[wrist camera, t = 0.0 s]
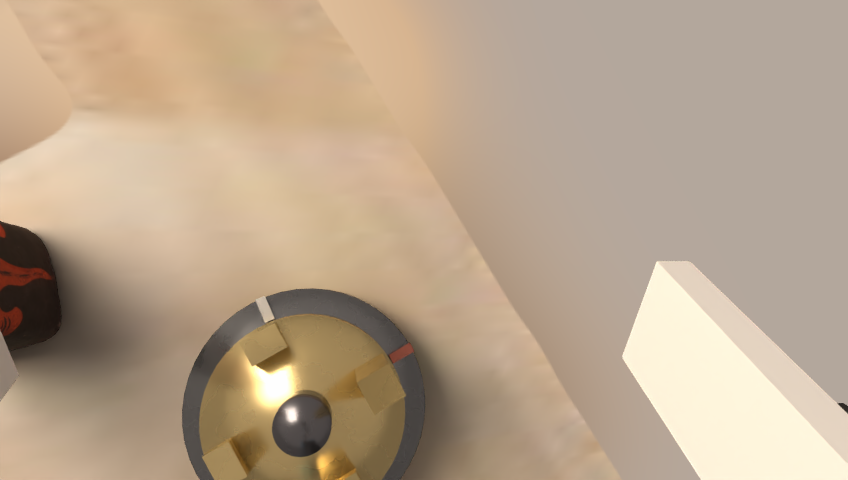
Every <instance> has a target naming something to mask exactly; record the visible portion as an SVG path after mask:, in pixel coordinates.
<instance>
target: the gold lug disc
mask: <svg viewBox="0 0 848 480" xmlns="http://www.w3.org/2000/svg"><path fill="white" fill-rule="evenodd" d="M301 390H312V391H315V392H318V393H320V394H321V395H323V396H324V397H325V398H326V400H327V401H328V402H329V404H330V406H331V410H332V426H331V433H330V436H329V439H328V441H327V442H326V444H325V445H324V446H323V447H322V448H321V449H320V450H319V451H318V452H316V453H314V454H312V455H310V456H306V457H294V456H290V455H288V454H286V453H284V452H283V451H282V450H281V449H280V448H279V447H278V446H277V444H276V443H275V441H274V438H273V434H272V423H273V419H274V417H275V415H276V413H277V411H278V409H279V407H280V406H281V404H282V402H283V401H284V400H285V399H286V398H287V397H288V396H289V395H291V394H292V393H294V392H297V391H301ZM405 396H406V394H405V392H404V390H403V388H402V386H401V383H400V379H399V376H398V374H397V372H396V370H395V368H394V365H393V364H392V362H391V360H390V359H389V357H388V356H387V354H386V353H385V351H384V350H383V349H382V347H381V346H380V345H379V344H378V343H377V342H376V341H375V340H374V339H373V338H372V337H371V336H370V335H369V334H368V333H366V332H365V331H364V330H362V329H361V328H359V327H358V326H356V325H354V324H352V323H350V322H348V321H346V320H343V319H340V318H337V317H334V316H329V315H324V314H312V313H310V314H297V315H291V316H286V317H283V318H280V319H277V320H274V321H271V322H269V323H267V324H265V325H263V326H260V327H258V328H256V329H255V330H253V331H252V332H250V333H248V334H247V335H245V336H244V337H243V338H242V339H240V340H239V341H238V342H237V343H236V344H234V345H233V346H232V348H231V349H230V350H229V351H228V352H227V353H226V354H225V355H224V356H223V358H222V359H221V360H220V362H219V363H218V364H217V366H216V368H215V369H214V371H213V373H212V375H211V377H210V379H209V381H208V383H207V386H206V388H205V391H204V395H203V399H202V402H201V408H200V416H199V434H200V440H201V447H202V450H203V454H204V455H203V456H202V458H203V460H204V462H205V464H206V466H207V467H208V469H209V471H210V473H211V475H212V477H213V479H214V480H382V479H383V477H384V476H385V474H386V473H387V471H388V470H389V468H390V467H391V465H392V463H393V461H394V459H395V457H396V455H397V452H398V449H399V446H400V443H401V440H402V436H403V431H404V423H405V401H404V397H405Z"/></svg>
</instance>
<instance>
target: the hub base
mask: <svg viewBox="0 0 848 480" xmlns="http://www.w3.org/2000/svg"><path fill="white" fill-rule="evenodd" d="M255 301H256V302H254V303H251V304H250V305H248V306H246V307H245V308H243V309H242V310H240V311H238V312H237V313H236V314H234V315H233V316H232V317H231V318H229V319H228V320H227V321H226V322H224V324H223V325H222V326H221V327H220V328H219V329H218V330H217V331H216V332H215V333H214V334H213V335H212V336H211V338H210V339H209V340H208V342H207V343H206V344H205V346H204V347H203V349H202V351H201V352H200V354H199V356H198V358H197V359H196V361H195V363H194V366H193V368H192V371H191V373H190V375H189V378H188V382H187V386H186V389H185V393H184V401H183V409H182V427H183V434H184V441H185V445H186V449H187V452H188V455H189V459H190V461H191V463H192V465H193V468H194V470H195V472H196V474H197V476H198V477H199V479H200V480H214V479H213V477H212V475H211V473H210V471H209V469H208V467H207V466H206V464H205V462H204V460H203V458H202V456H203V455H204V454H203V450H202V447H201V440H200V434H199V416H200V408H201V402H202V399H203V395H204V391H205V388H206V386H207V383H208V381H209V379H210V377H211V375H212V373H213V371H214V369H215V368H216V366H217V364H218V363H219V362H220V360H221V359H222V358H223V356H224V355H225V354H226V353H227V352H228V351H229V350H230V349H231V348H232V346H233V345H234V344H236V343H237V342H238V341H239V340H240V339H242V338H243V337H244V336H245V335H247V334H248V333H250V332H252V331H253V330H255V329H256V328H258V327H260V326H263V325H265V324H267V323H269V322H271V321H274V320H277V319H280V318H283V317H286V316H291V315H297V314H310V313H312V314H324V315H329V316H334V317H337V318H340V319H343V320H346V321H348V322H350V323H352V324H354V325H356V326H358V327H359V328H361V329H362V330H364V331H365V332H366V333H368V334H369V335H370V336H371V337H372V338H373V339H374V340H375V341H376V342H377V343H378V344H379V345H380V346H381V347H382V349H383V350H384V351H385V353H386V354H387V356H388V357H389V359H390V360H391V362H392V364H393V365H394V368H395V370H396V372H397V374H398V376H399V379H400V383H401V386H402V388H403V390H404V392H405V394H406V396H405V397H404V401H405V423H404V431H403V436H402V440H401V443H400V446H399V449H398V452H397V455H396V457H395V459H394V461H393V463H392V465H391V467H390V468H389V470H388V471H387V473H386V474H385V476H384V477H383V479H382V480H400V479H401V477H402V476H403V474H404V472H405V471H406V469H407V468H408V466H409V464H410V462H411V460H412V458H413V456H414V454H415V452H416V449H417V446H418V443H419V440H420V437H421V433H422V428H423V423H424V413H425V394H424V386H423V380H422V375H421V372H420V368H419V365H418V362H417V360H416V357H415V355H414V353H413V352H414V349H413V348H412V346H411V344H410V343H408V342H407V341H406V339H405V337H404V336H403V334H402V333H401V332H400V331H399V330H398V329H397V327H396V326H395V325H394V324H393V323H392V322H391V321H390V320H389V319H388V318H387V317H386V316H385V315H383V314H382V313H381V312H379V311H378V310H377V309H375V308H374V307H372V306H371V305H369V304H367V303H365V302H363V301H361V300H359V299H357V298H355V297H353V296H350V295H347V294H344V293H341V292H336V291H331V290H323V289H296V290H290V291H285V292H280V293H277V294H273V295H270V296H267V297H265V296H263V297H261V298H258V299H256V300H255ZM331 426H332V410H331V406H330V404H329V402H328V401H327V400H326V398H325V397H324V396H323V395H321V394H320V393H318V392H315V391H312V390H301V391H297V392H294V393H292V394H291V395H289V396H288V397H287V398H286V399H285V400H284V401H283V402H282V404H281V406H280V407H279V409H278V411H277V413H276V415H275V417H274V419H273V423H272V434H273V438H274V441H275V443H276V444H277V446H278V447H279V448H280V449H281V450H282V451H283V452H284V453H286V454H288V455H290V456H294V457H306V456H310V455H312V454H314V453H316V452H318V451H319V450H320V449H321V448H322V447H323V446H324V445H325V444H326V442H327V441H328V439H329V436H330V433H331Z"/></svg>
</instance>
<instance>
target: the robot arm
mask: <svg viewBox="0 0 848 480" xmlns="http://www.w3.org/2000/svg"><path fill="white" fill-rule="evenodd" d="M622 358H623V360H624V361H625V363H626V364H627V366H628V368H629V369H630V371H631V372H632V374H633V375H634V377H635V378H636V380H637V381H638V383H639V385H640V386H641V388H642V389H643V391H644V392H645V394H646V395H647V397H648V399H649V400H650V402H651V403H652V405H653V406H654V408H655V409H656V411H657V412H658V414H659V415H660V417H661V418H662V420H663V422H664V423H665V425H666V426H667V428H668V429H669V431H670V433H671V434H672V436H673V437H674V439H675V440H676V442H677V443H678V445H679V446H680V448H681V449H682V451H683V453H684V454H685V456H686V457H687V459H688V460H689V462H690V463H691V465H692V467H693V468H694V470H695V471H696V473H697V474H698V476H699V477H700V479H701V480H848V406H847V405H845V404H844V403H836V402H835V401H834V400H833V399H832V398H831V397H830V396H829V395H828V394H826V392H825V391H824V390H823V389H821V388H820V387H819V386H818V385H817V384H816V383H815V382H814V381H813V380H812V379H811V378H810V377H809V376H808V375H807V374H806V373H805V372H804V371H803V370H802V369H801V368H800V367H799V366H797V364H795V362H793V361H792V360H791V359H790V358H789V357H788V356H787V355H786V354H785V353H784V352H783V351H782V350H781V349H780V348H779V347H778V346H777V345H776V344H775V343H774V342H773V341H772V340H771V339H770V338H769V337H768V336H767V335H765V334H764V333H763V332H762V331H761V330H760V329H759V328H758V327H757V326H756V325H755V324H754V323H753V322H752V321H751V320H750V319H749V318H748V317H747V316H746V315H745V314H744V313H743V312H742V311H741V310H739V308H737V307H736V306H735V305H734V304H733V303H732V302H731V301H730V300H729V299H728V298H727V297H726V296H725V295H724V294H723V293H722V292H721V291H720V290H719V289H718V288H717V287H716V286H715V285H713V283H712V282H710V281H709V280H708V279H707V278H706V277H705V276H704V275H703V274H702V273H701V272H700V271H699V270H698V269H697V268H696V267H695V266H694V265H693V264H692V263H691V262H689V261H657V263H656V266H655V268H654V271H653V274H652V277H651V279H650V282H649V285H648V288H647V290H646V293H645V296H644V298H643V301H642V304H641V307H640V309H639V312H638V315H637V318H636V320H635V323H634V326H633V328H632V331H631V334H630V337H629V339H628V342H627V345H626V348H625V350H624V353H623V356H622ZM18 376H19V374H18V371H17V369H16V367H15V364H14V362H13V359H12V357H11V355H10V352H9V350H8V347H7V345H6V343H5V340H4V338H3V335H2V333H1V331H0V401H1V400H2V398H3V397H4V396H5V394H6V393H7V392H8V390H9V389H10V387H11V386H12V385H13V383H14V382H15V381H16V379H17V378H18Z"/></svg>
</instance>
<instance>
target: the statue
mask: <svg viewBox="0 0 848 480" xmlns="http://www.w3.org/2000/svg"><path fill="white" fill-rule="evenodd" d="M60 323H61V311H60V300H59V296H58V289H57V286H56V278H55V274H54V271H53V268H52V265H51V262H50V258H49V255H48V252H47V250H46V248H45V246H44V244H43V243H42V241H41V240H40V239H39V238H38V236H37V235H35V234H34V233H32V232H31V231H29V230H28V229H26V228H22V227H19V226H16V225H11V224H8V223H4V222H1V221H0V331H1V333H2V335H3V338H4V340H5V343H6V345H7V347H8V350H9V351H10V350H15V349H19V348H23V347H26V346H29V345H32V344H35V343H39V342H43V341H45V340H47V339H49V338H50V337H52V336H53V335H54V334H56V332H57V331H58V330H59V326H60Z"/></svg>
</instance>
